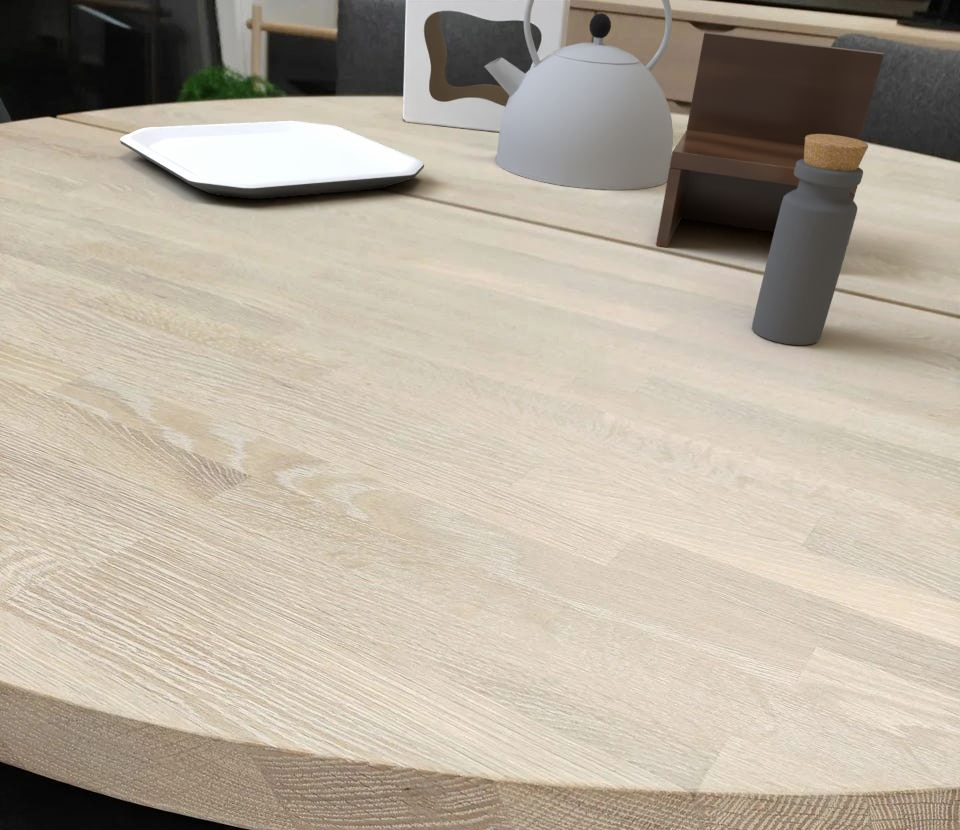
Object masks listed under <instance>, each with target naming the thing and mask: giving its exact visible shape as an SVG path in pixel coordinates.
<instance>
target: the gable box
mask: <svg viewBox="0 0 960 830" xmlns="http://www.w3.org/2000/svg"><path fill="white" fill-rule="evenodd" d="M526 3H527V0H405V19H404V20H405V21H404V22H405V24H404V53H403V55H404V57H403V63H404V64H403V92H402V93H403V96H402V97H403V98H402V99H403V100H402V121H403V122H404V123H411V124H420V125H429V126H437V127H447V128H454V129H455V128H457V129H465V130H473V131H484V132H493V133H499V132H500V126H501V121H502V117H503V114H504V111H505V108H506V105H507V102H508V99H509V97H510V96H509V94H508V93H507V92H506V91H505V90H504V89H503V87H502V86H501V85H495V84H489V83H481V84H480V83H479V84H473V85H468V86H455V85H454V86H453V85H452V84H450V83H449V82H448V81H447V79H446V68H447V63H448V47H447V43H446V40H445V36H444V33H443V29H442V24H441V14H442V12H457V13H462V14H465V15H469V16H473V17H476V18H479V19H483V20H487V21H491V22H508V21H509V22H511V21H521V22H524V12H525V7H526ZM570 8H571V0H534V2H533V6H532V10H531V17H530V24H532V25H534V26H535V27H537V28H538V30H539V32H540V34H541V40H540V44H539V47H538V49H537V51H536V52H537V54H538V57H539V60H540V61H541V60H542V59H544V58H545V57H547V56H548V55H550V54H552V53H554V51H556V50H558V49H560V48H562V47H565V46H567V45H566V43H567V34H568V25H569V17H570ZM533 66H534V63H533V62H532V63H531V65H530V68H529V70H530V69H531V68H532V67H533Z"/></svg>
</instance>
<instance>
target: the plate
mask: <svg viewBox="0 0 960 830" xmlns="http://www.w3.org/2000/svg"><path fill="white" fill-rule="evenodd" d="M119 142H120V144H121V145H123V146H124V147H126V148H127V149H129V150H131V151H132V152H134V153H135V154H137V155H139V156H141V157H143V158H144V159H146V160H148V161H150V162H151V163H153V164H155V165H156V166H158V167H160V168H161V169H163V170H165V171H166V172H168V173H169V174H171V175H173V176H175V177H177V178H178V179H179V180H181V181H183V182H185V183H187V184H188V185H191V186H192V187H194V188H197V189H199V190H201V191H203V192H206V193H208V194H211V193H212V194H211V195H214V194H219V195H218V196H221V195H226V196H225V197H229V196H233V197H232V198H237V197H242V198H241V199H245V198H249V199H248V200H266V199H265V198H269V199H276V198H275V197H280V198H285V197H284V196H291V197H296V196H295V195H302V196H308V195H307V194H313V195H321V194H320V193H324V194H333V193H332V192H335V193H343V192H345V193H346V192H355V191H356V192H357V191H368V190H379V189H380V190H381V189H383V188H387V187H390V186H393V185H396V184H399V183H402V182H404V181H408V180H410V179H413V178H415V177H417V176H418V174H419V173H420V172H421V171H422V170H423V169H424V167H425V163H424V162H423V161H422V160H421V159H418V158H416V157H413V156H411V155H409V154H407V153H404V152H401V151H398V150H397V149H394V148H392V147H389V146H387V145H384V144H382V143H379V142H377V141H375V140H372V139H371V138H368V137H366V136H362V135H360V134H358V133H356V132H353V131H352V130H351V131H350V130H349V129H346V128H344V127H341V126H338V125H334V124H324V123H317V122H309V121H300V120H277V121H276V120H275V121H257V122H256V121H255V122H235V123H231V122H230V123H215V124H213V123H212V124H193V125H190V124H189V125H174V126H173V125H170V126H169V125H167V126H151V127H149V126H148V127H142V128H141V127H140V128H139V129H136V130H134V131H132V132H130V133H128V134H125V135H123V136H121V137H120V139H119Z"/></svg>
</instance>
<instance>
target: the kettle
mask: <svg viewBox="0 0 960 830" xmlns="http://www.w3.org/2000/svg"><path fill="white" fill-rule="evenodd" d="M533 2H534V0H527V3H526V7H525V12H524V21H523V31H524V37H525V42H526V45H527V46H526V47H527V48H528V52H529V55H530V58H531V60H532V63H534V66H533V67H532V68H531V67H530V68H531V69H530V68H529V69H528V71H526V72H524V71H522V70H521V69H520V68H518V67H517V66H515V65H514V64H512V63H511V62H510V61H508V60H506V59H505V58H504V57H499V58H496V59H494V60H492V61H490V62H488V63H487V64H486V65H484V68H485V69H486V70H487V71H488V72H489V74H490V75H491V76H492V77H493V78H494V80H495V81H496V82H497V83H498V84H499V86H500V87H503V89H504V90H505V91H506V92H507V93H508V94H509V96H510V97H509V99H508V102H507V105H506V108H505V111H504V114H503V117H502V121H501V126H500V132H498V139H497V151H496V156H495V162H496V164H497V165H498V166H499V167H500V168H502V169H503V170H505V171H507V172H509V173H511V174H514V175H517V176H519V177H523V178H526V179H530V180H533V181H537V182H542V183H547V184H552V185H559V186H562V187H563V186H564V187H571V188H579V189H591V190H605V191H607V190H609V191H625V190H627V191H629V190H641V189H649V188H650V189H651V188H655V187H659V186H661V185H664V184H665V183H667V179H668V174H669V168H670V162H671V157H672V152H673V149H674V147H673V146H674V127H673V120H672V114H671V110H670V106H669V104H668V100H667V98H666V95H665V92H664V91H663V89H662V87H661V86H660V84H659V82H658V81H657V80H656V77H655V76H654V75H653V74H652V73H651V72H652V70H653V69H654V68H655V67H656V65H657V64H658V63H659V62H660V60H661V59H662V57H663V56H664V54H665V52H666V50H667V48H668V46H669V43H670V40H671V35H672V27H673V12H672V6H671V1H670V0H661V3H662V5H663V9H664V17H665V18H664V19H665V27H664V34H663V38H662V41H661V43H660V45H659V47H658V49H657V51H656V53H655V54H654V56H653V57H652V58H651V60H650V61H649V62H648V63H647V64H646V66H645V65H644V64H643V63H642V62H641V61H640V60H639V58H637V57H636V56H635V55H633V54H632V53H631V52H628V51H626V50H623V49H621V48H619V47H617V46H615V45H612V44H606V43H604V38H606V37H607V36H608V35H609V34H610V32H611V28H612V21H611V19H610V17H609V16H608V15H607V14H606V13H603V12H599V13H597V14H594V15H593V16H592V18H591V20H590V22H589V32H590V34H591V36H593V42H579V43H575V44H570V45H565V47H562V48H560V49H558V50H556V51H554V53H552V54H550V55H548V56H547V57H545V58H544V59H542V60H541V61H540V60H539V57H538V54H537V52H538V51H537V49H536V46H535V43H534V39H533V35H532V29H531V23H530V17H531V10H532V6H533Z"/></svg>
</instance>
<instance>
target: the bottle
mask: <svg viewBox="0 0 960 830" xmlns="http://www.w3.org/2000/svg"><path fill="white" fill-rule="evenodd" d="M868 148H869V144H868V143H867V142H865V141H863V140H862V139H860V140H858V139H854V138H850V137H845V136H838V135H830V134H811V135H807V136H806V137H805V149H804V159H802V160H799V161H797V163H796V166H795V170H794V175H795V176H796V177H797V178H799V185H798V188H797V189H795V190H793V191H791V192H789V193H787V194H786V195H785V196H784V197H783V200H782V204H781V207H780V211H779V215H778V219H777V223H776V227H775V231H774V232H773V236H772V239H771V244H770V248H769V252H768V256H767V260H766V264H765V269H764V273H763V277H762V281H761V285H760V289H759V293H758V297H757V302H756V305H755V311H754V314H753V318H752V324H751V329H752V331H753V332H754V333H755V334H756V335H758V336H759V337H761V338H764V339H765V340H768V341H771V342H775V343H778V344H783V345H785V344H786V345H791V346H807V345H813V344H817V343H818V342H819V341H820V340H821V337H822V335H823V331H824V329H825V325H826V321H827V318H828V315H829V311H830V308H831V304H832V302H833V297H834V294H835V291H836V288H837V284H838V280H839V277H840V273H841V270H842V266H843V264H844V263H843V262H844V260H845V257H846V252H847V249H848V245H849V242H850V239H851V235H852V231H853V227H854V224H855V221H856V217H857V213H858V206H857V204H856V202H855V200H852V199H851V198H850V197H849V194H850V190H851V187H852V186H857V185H858V186H859V185H860V184H861V182H862V180H863V175H864V170H863V169H862V168H861V167H860V164H861V163H862V161H863V158H864V156H865V154H866V152H867V150H868ZM858 186H857V187H858Z"/></svg>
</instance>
